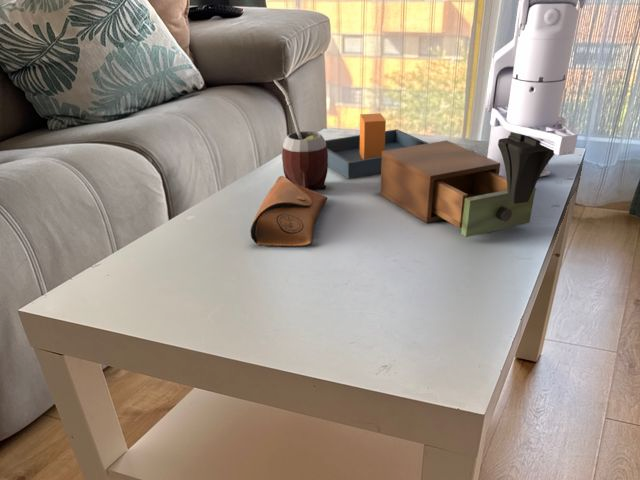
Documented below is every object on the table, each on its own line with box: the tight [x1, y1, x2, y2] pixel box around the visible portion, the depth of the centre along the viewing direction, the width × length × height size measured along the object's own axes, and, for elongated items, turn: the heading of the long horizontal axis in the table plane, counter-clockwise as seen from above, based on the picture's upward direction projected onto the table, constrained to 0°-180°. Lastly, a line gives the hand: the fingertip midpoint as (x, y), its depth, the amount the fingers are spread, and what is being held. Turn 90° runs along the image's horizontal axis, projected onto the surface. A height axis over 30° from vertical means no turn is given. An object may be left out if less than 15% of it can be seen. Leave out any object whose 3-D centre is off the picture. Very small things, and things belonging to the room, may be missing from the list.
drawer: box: [432, 170, 537, 238], centre depth 86 cm, size 14×10×5 cm
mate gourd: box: [273, 78, 329, 191], centre depth 96 cm, size 8×8×15 cm
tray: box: [324, 128, 429, 180], centre depth 111 cm, size 17×14×2 cm
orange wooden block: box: [359, 112, 387, 159], centre depth 109 cm, size 4×5×6 cm
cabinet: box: [379, 140, 500, 224], centre depth 93 cm, size 13×11×6 cm
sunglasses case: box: [250, 175, 329, 248], centre depth 89 cm, size 18×7×7 cm
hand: (518, 201), depth 78 cm, fingers closed
